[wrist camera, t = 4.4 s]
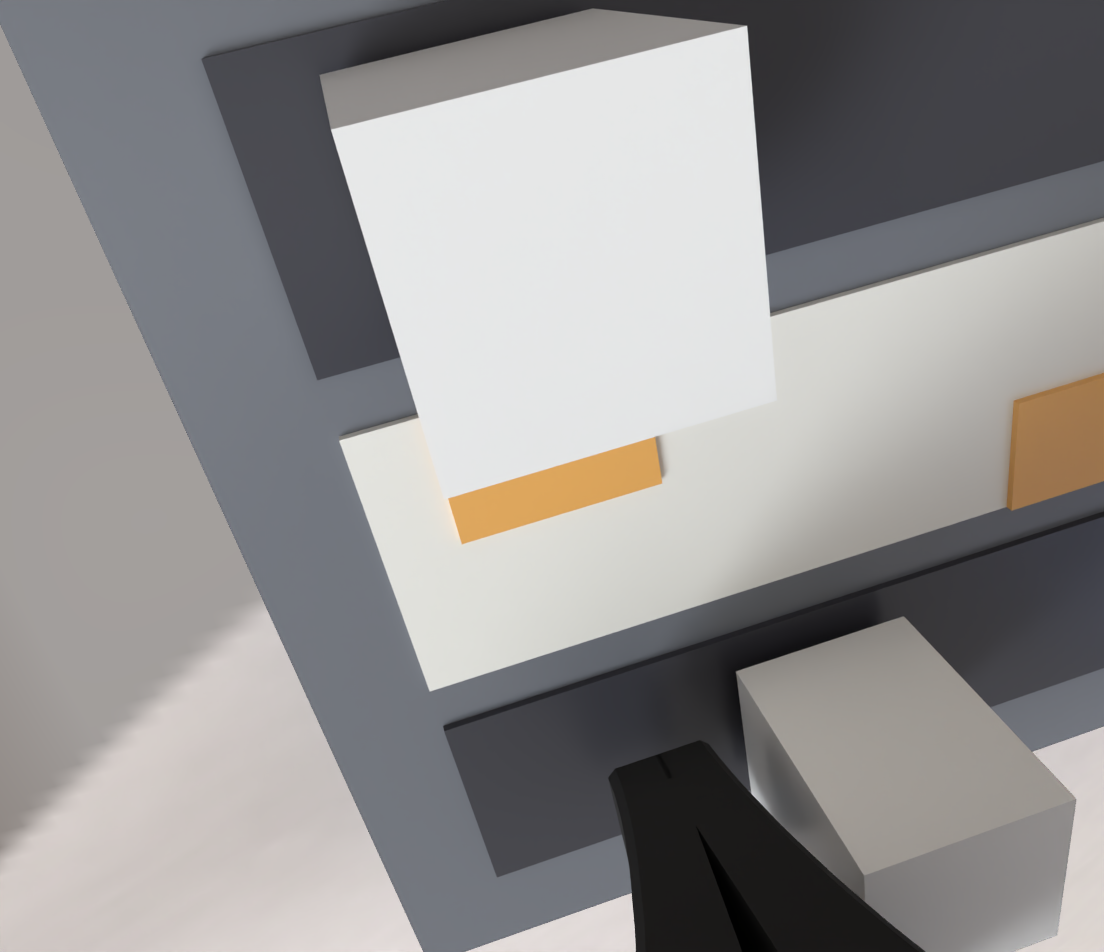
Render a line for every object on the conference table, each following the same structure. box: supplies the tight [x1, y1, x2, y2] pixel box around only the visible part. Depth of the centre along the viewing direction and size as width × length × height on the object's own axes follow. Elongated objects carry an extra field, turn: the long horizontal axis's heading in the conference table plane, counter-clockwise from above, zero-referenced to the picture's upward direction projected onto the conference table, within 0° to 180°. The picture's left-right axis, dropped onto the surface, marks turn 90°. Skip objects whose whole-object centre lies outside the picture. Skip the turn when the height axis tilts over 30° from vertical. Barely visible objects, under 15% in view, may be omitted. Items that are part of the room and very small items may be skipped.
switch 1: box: [319, 8, 777, 499], centre depth 7 cm, size 2×2×3 cm
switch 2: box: [736, 616, 1076, 952], centre depth 11 cm, size 2×2×3 cm
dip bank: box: [0, 0, 1104, 952], centre depth 12 cm, size 14×14×2 cm
